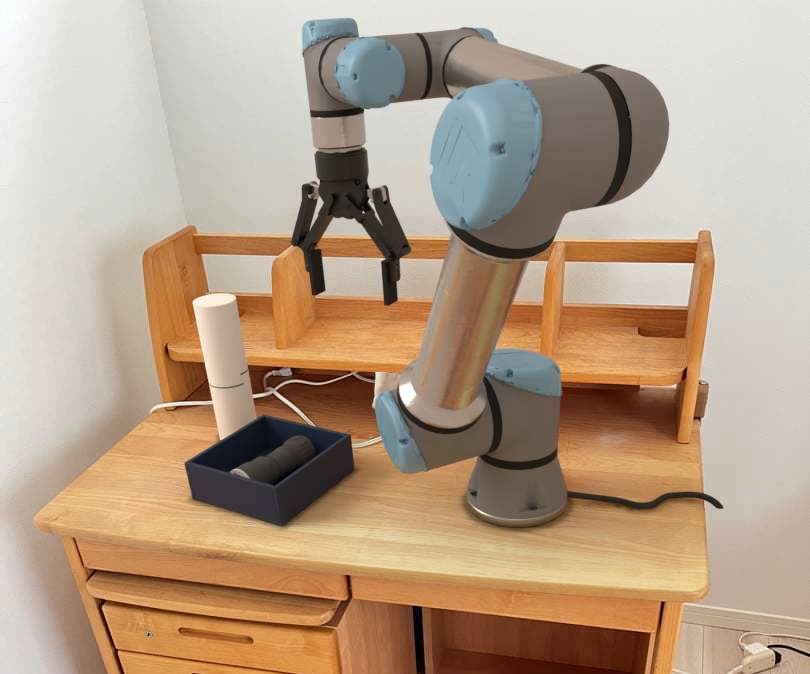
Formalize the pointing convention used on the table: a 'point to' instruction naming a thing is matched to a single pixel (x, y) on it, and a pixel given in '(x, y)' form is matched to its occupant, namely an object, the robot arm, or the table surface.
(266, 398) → the table surface
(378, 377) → the toy creature
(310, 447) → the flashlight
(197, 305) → the cylindrical container
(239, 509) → the bin
